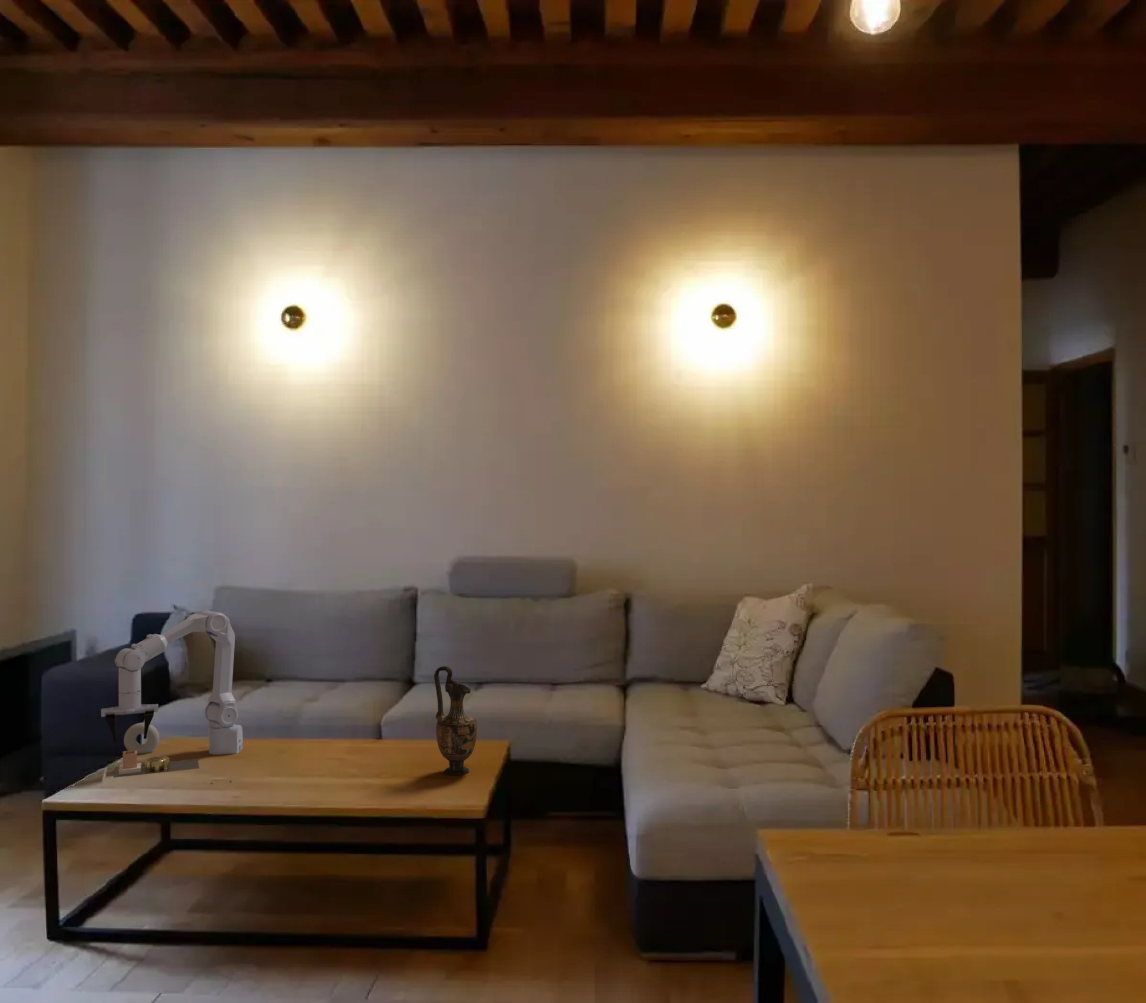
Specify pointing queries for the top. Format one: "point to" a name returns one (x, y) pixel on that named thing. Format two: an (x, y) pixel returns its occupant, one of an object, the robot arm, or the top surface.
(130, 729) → the donut
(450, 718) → the vase
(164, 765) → the carrier plate
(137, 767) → the square sleeve on tile
